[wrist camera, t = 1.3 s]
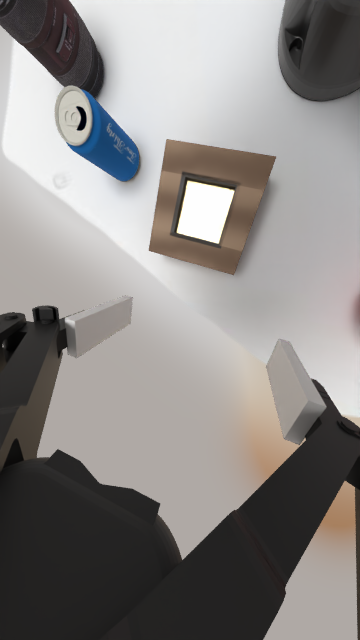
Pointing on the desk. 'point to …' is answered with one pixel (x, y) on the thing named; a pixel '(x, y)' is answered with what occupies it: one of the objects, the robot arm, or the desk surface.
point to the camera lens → (55, 40)
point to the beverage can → (95, 133)
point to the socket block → (218, 170)
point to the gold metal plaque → (204, 211)
